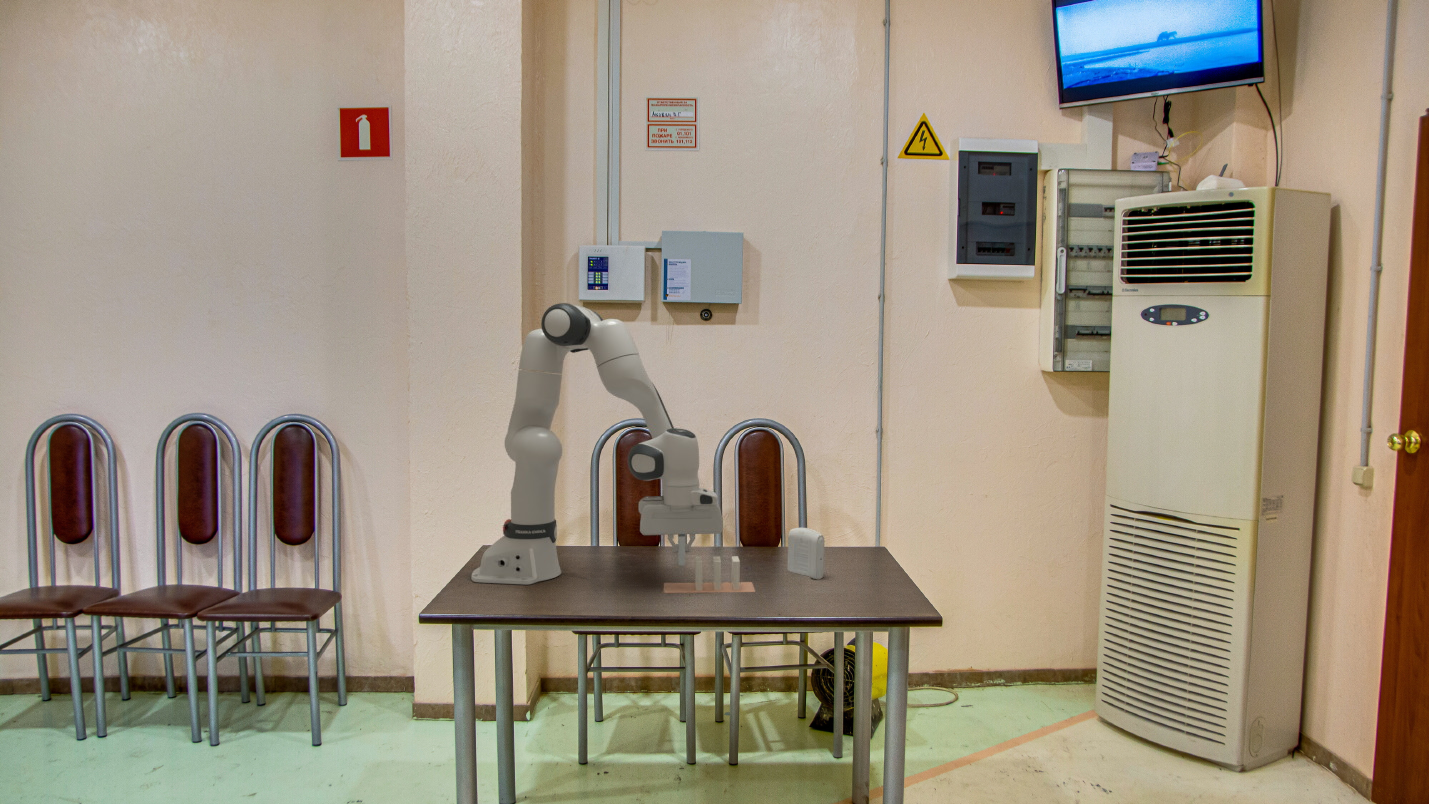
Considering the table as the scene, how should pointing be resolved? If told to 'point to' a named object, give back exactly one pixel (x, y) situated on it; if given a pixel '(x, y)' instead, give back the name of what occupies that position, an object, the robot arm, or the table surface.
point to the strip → (706, 587)
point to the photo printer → (806, 552)
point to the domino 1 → (681, 549)
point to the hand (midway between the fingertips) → (681, 551)
